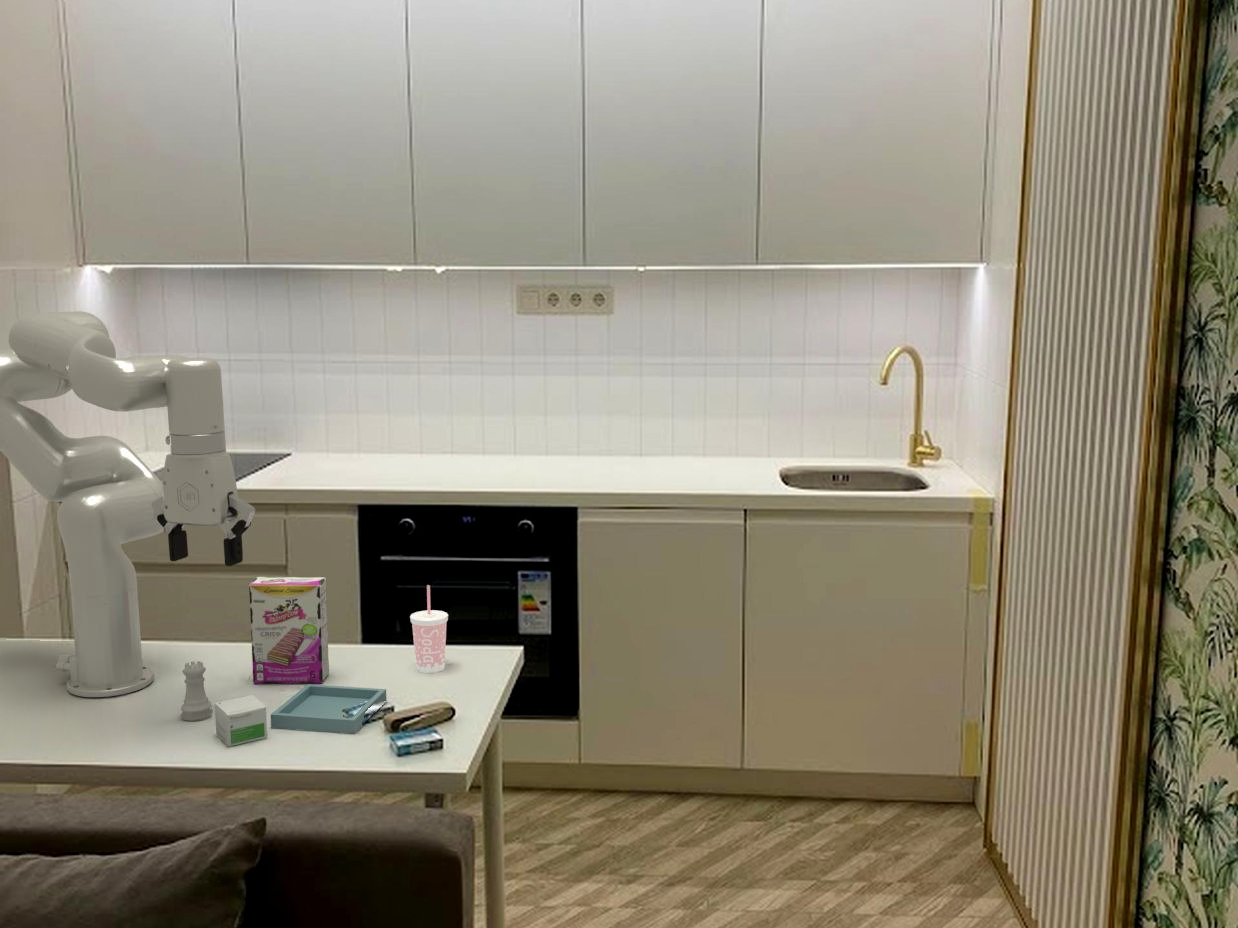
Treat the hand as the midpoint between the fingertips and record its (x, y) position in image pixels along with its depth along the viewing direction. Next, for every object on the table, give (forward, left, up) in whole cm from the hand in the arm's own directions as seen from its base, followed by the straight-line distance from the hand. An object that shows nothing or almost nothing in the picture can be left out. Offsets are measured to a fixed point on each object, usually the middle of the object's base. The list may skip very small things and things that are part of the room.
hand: (206, 561), depth 173 cm
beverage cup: (+25, +24, -23) cm, 42 cm away
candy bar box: (+5, +15, -23) cm, 28 cm away
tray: (+17, +2, -23) cm, 29 cm away
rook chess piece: (-2, -2, -23) cm, 23 cm away
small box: (+8, -8, -23) cm, 26 cm away
